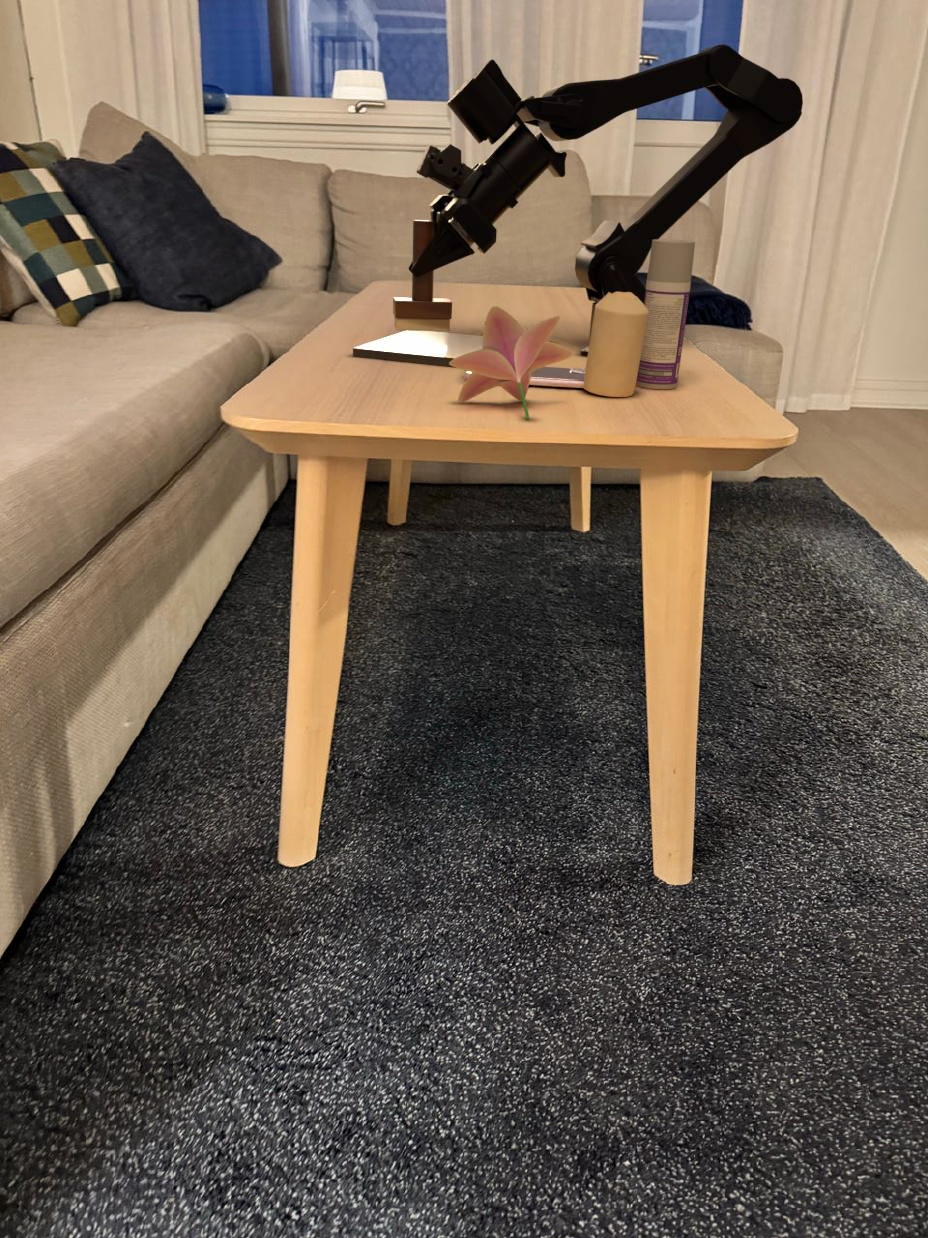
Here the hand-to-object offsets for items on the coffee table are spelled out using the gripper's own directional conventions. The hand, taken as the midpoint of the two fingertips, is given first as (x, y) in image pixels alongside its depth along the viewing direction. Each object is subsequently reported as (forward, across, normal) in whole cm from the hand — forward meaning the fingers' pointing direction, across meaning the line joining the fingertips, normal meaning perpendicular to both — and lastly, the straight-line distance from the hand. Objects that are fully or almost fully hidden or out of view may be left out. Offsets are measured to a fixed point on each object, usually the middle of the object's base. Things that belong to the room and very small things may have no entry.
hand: (412, 273), depth 111 cm
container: (-11, +19, +25) cm, 34 cm away
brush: (+4, 0, +6) cm, 7 cm away
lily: (+2, +31, +12) cm, 33 cm away
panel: (+4, -1, +9) cm, 10 cm away
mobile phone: (-2, +17, +15) cm, 23 cm away
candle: (-7, +23, +20) cm, 31 cm away
